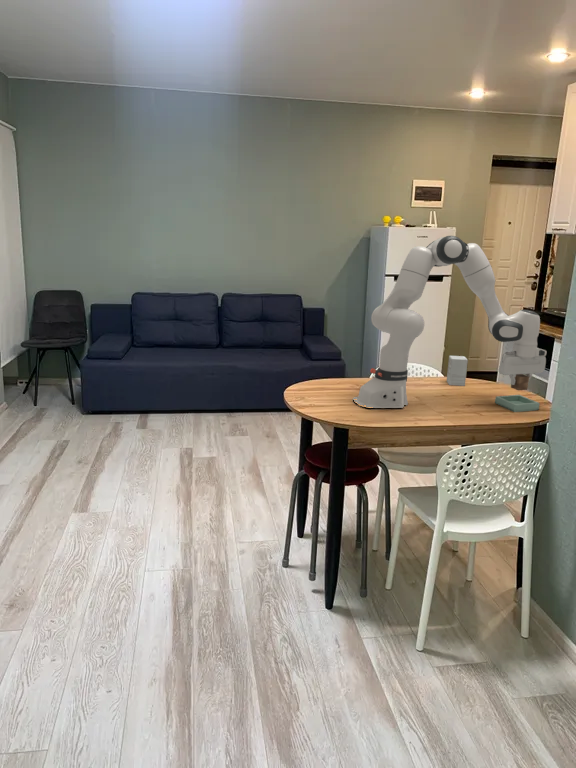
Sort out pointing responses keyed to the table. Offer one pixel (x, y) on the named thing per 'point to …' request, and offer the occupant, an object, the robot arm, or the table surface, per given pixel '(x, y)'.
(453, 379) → the supplement box
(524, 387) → the walnut block
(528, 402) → the sage tray
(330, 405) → the table surface
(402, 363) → the robot arm
